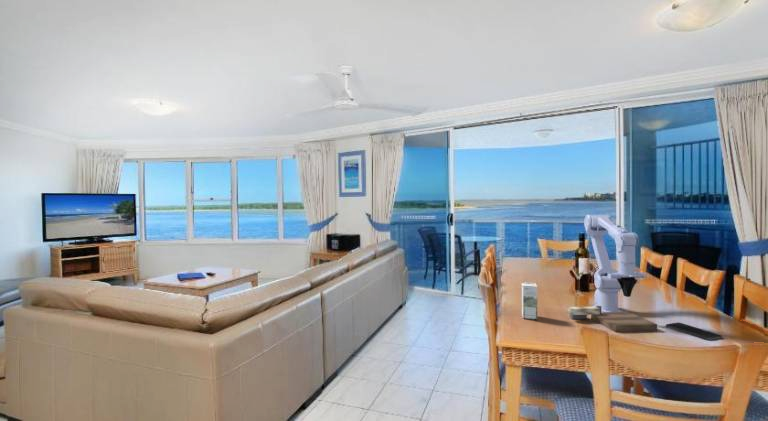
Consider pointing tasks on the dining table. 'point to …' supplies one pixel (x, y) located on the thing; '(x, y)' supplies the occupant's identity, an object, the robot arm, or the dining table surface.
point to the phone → (694, 331)
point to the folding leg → (584, 310)
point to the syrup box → (529, 300)
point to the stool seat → (624, 322)
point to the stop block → (578, 316)
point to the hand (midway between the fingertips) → (626, 296)
